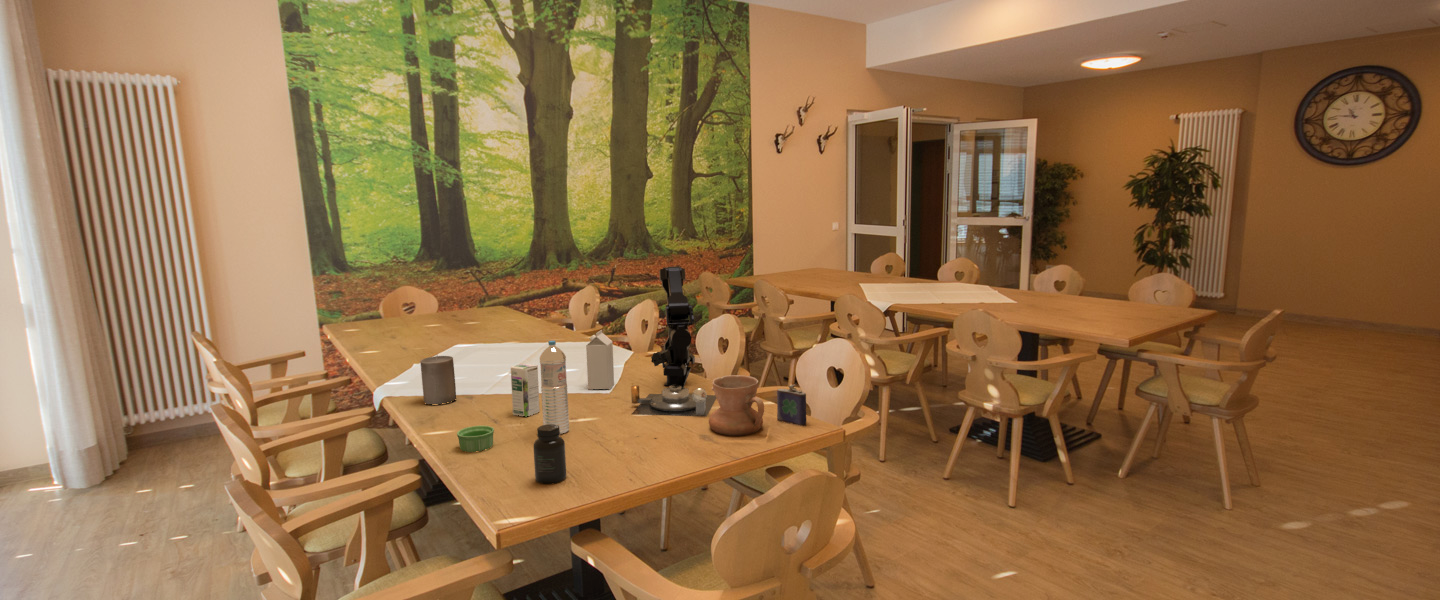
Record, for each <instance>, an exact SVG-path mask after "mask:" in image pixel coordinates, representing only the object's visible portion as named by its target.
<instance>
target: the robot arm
mask: <svg viewBox="0 0 1440 600" xmlns="http://www.w3.org/2000/svg"><path fill="white" fill-rule="evenodd" d="M658 275H659V276H658V277H659V282H661V287H662V289H663V291H664V292H665V294H666V305H665V319H666V320H665V321H666V326H667V335H668V337H667V338H666V341H665V342H664V344H663V349H662V351H657V352H654V353H652V355H651V357H650V358H651V361H650V362H651V363H653V365H654V367H658V366H659V365H661V364H662V365H661V366H662V369H663V376H665V377H666V381H665V382H664V384H663V386H665V387H669V386H671V385H681V387H685V385H686V382H687V380H688V378H689V375H690V372H691V369H692V366H690V363H691V364H692V365H693V364H694V363H695V362H696V361H695V360H696V358H695V357H696V356H695V355H694V353H692V352H690V351H689V349H690V347H691V343H692V335H691V333H690V331H689V326H693V322H695V317H694V308H693V307H692V304H689V298H688V297H687V295H684V291H683V290H684V289H683V286H684V281H686V268H683V267H681V266H680V265H679V266H664V267H662V268H660V269H659V273H658Z"/></svg>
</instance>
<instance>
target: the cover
mask: <svg viewBox="0 0 1440 600" xmlns="http://www.w3.org/2000/svg"><path fill="white" fill-rule="evenodd" d="M661 394H662V401H663V402H665V403H670V404H679V403H684V402H687V401H689V394H690V390H689V388H687V387H685V386H684V387H681V385H671V386H668V387H664V388H663V389H662V390H661Z"/></svg>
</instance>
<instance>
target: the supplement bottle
mask: <svg viewBox="0 0 1440 600" xmlns="http://www.w3.org/2000/svg"><path fill="white" fill-rule="evenodd" d="M536 431H537V434H536V435H537V439H536V440H535V441H534V442H533V460H534V461H533V462H534V463H533V464H534V477H535V482H537V483H538V482H539V484H541V483H543V484H542V485H553V484H552V483H554V484H558V483H561V482H563V481H564V480H565V479H566V478H567V461H566V460H567V459H566V444H565V439H564V438H563V436H562V437H561V436H560V435H561V434H560V429H559V426H558V425H555V424H548V425H543V424H542V425H540V426H538V427H537V430H536ZM562 480H563V481H562ZM560 481H561V482H560ZM557 482H558V483H557Z"/></svg>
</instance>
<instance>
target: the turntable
mask: <svg viewBox="0 0 1440 600" xmlns="http://www.w3.org/2000/svg"><path fill="white" fill-rule="evenodd" d="M630 389H631V390H630V393H631V404H632V405H633V404H634V405H635V404H641V403H644V404H650V406H651V407H652V408H654V409H657V410H662V411H686V410H691V409H695V408H696V402H695V401H694V400H693V398H692V393H689V401H687V402H684V403H679V404H670V403H665V402H663V401H662V395H659V396H656V397H653V398H646V397H640V386H639V385H636V384H635V385H631V386H630Z"/></svg>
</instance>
